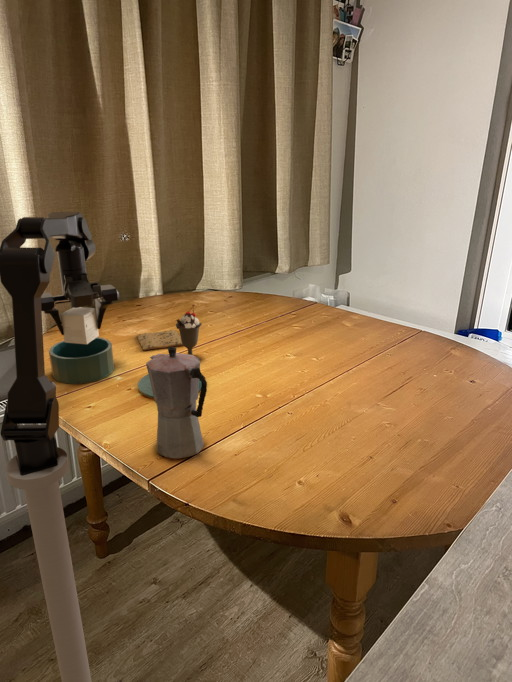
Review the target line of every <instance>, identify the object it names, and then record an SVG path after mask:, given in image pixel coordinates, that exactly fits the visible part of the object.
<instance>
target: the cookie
mask: <svg viewBox="0 0 512 682" xmlns="http://www.w3.org/2000/svg"><path fill="white" fill-rule="evenodd" d="M136 338H137V341H138V343H139V345H140V346H141V349H142V351H149V350H155V349H164V348H170V347H178V346H179V347H180V346H183V345H182V341H181V336H180V334H179V333H178V332H177V330H174V329H173V330H172V329H169V330H163V331H156V332H154V331H153V332H144V333H138V334H136Z"/></svg>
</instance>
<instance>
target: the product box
mask: <svg viewBox="0 0 512 682" xmlns="http://www.w3.org/2000/svg"><path fill="white" fill-rule="evenodd" d="M60 320H61V324H62V327H63V333H64V335H62V336H63V341H64V342H65V343H77V344H88V343H89V342H91V341H92V340H94V339H95V338H97V337H100V334H99V332H100V331H99V329H98V324H97V315H96V307H85V306H81V307H79V308H74V307H71V308H70V309H67V310H65V311H63V312H62V313H60Z"/></svg>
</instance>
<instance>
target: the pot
mask: <svg viewBox="0 0 512 682" xmlns="http://www.w3.org/2000/svg"><path fill="white" fill-rule="evenodd" d="M113 351H114V350H113V343H112V342H111V340H109V339H108V338H104V337H100V336H98V337H97V338H95V339H94V340H92V341H91V342H89V343H88V344H77V343H65V342H64V340H62V341H61V340H60V341H58V342H56V343H54V344H53V345H52V346H51V347H50V348H49V350H48V355H49V361H50V369H51V374H52V378H53V379H54V380H55V381H57V382H59V383H62V384H68V385H79V384H80V385H82V384H88V383H94V382H97V381H100V380H102V379H105V378H106V377H108V376H110V375H111V374H112V373H113V372H114V371H115V360H114V352H113Z"/></svg>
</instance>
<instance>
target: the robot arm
mask: <svg viewBox="0 0 512 682" xmlns="http://www.w3.org/2000/svg"><path fill="white" fill-rule="evenodd" d="M91 233H92V232H91V231H90V228H89V225H88V222H87V219H86V218H85V217H83V214H82V213H81V212H79V211H52V212H50V213H48V214H47V215H46V217H43V216H23V217H21V218H19V219H17V222H16V224H15V229H13V230H12V231H11V232H10V233H9V234H8V235H7V236H6V237H5V238H3V240H2V241H1V244H0V283H1V285H2V286H3V288H4V289H5V291H6V292H7V293H8V295H9V296H10V297H11V305H12V307H11V308H12V325H13V326H12V327H13V341H14V342H13V343H14V359H15V360H14V361H15V375H16V376H15V380H14V381H13V383H12V385H11V386H10V388H9V390H8V392H7V396H6V397H7V399H6V404H5V408H4V414H3V418H2V423H1V429H0V436H1V438H2V440H3V442H8V441H13V443H14V448H15V454H16V455H17V457H16V459H17V463H18V467H19V471H20V475H21V476H23V475H27V474H30V473H34V472H37V471H41V470H44V469H48V468H51V467H55V466H57V465H58V462H57V459H56V458H58V449H57V447H58V443H57V439H56V436H55V434H56V433H57V431H58V430H59V428H60V406H59V404H60V403H59V400H58V399H57V385H56V384H55V382H54V381H53V380H52V381H51V380H50V379H49V378H48V376H47V375H46V370H45V368H46V367H45V351H44V349H45V348H44V333H43V332H44V331H43V313H44V314H47V315H50V316H51V318H52V319H53V322H54V323H55V326H56V327H57V329H58V331H59V333H60V335H61V336H63V335H64V333H63V327H62V320H61V316H60V312H59V309H58V308H57V305H58V304H66V303H70V305H71V308H73V307H74V308H79V307H92V306H94V305H95V308H96V315H97V324H98V330H101V328H102V324H103V319H104V317H105V313H106V310H107V309H108V307H110V305H113V303H114V302H117V301H119V300H120V293H119V289H117V288H116V287H115V286H114V285H112V284H104V285H102V284H101V283H100V282H99V281H96V282H90V281H89V278H88V277H89V276H88V273H87V268H86V267H87V266H86V262H87V261H88V260H90V259H91V258H92V257H93V256H94V255H95V253H96V249H97V247H96V244H95V241H93V236H92V234H91ZM51 238H53V239H54V240H55V241H58V243H57V245H56V246H55V249H54V248H53V246H52V244H51V242H50V239H51ZM27 240H44V241H45V243H44V248H42V247H22V246H23V245H24V244H25V243H26V242H27ZM56 253H57V261H58V269H59V275H60V276H59V277H60V282H61V290H62V294H57V295H52V293H51V292H50V291H47V292H45V291H46V289H47V288H48V286H49V284H50V281H51V280H50V279H51V272H52V269H53V265H54V261H55V256H56Z"/></svg>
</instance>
